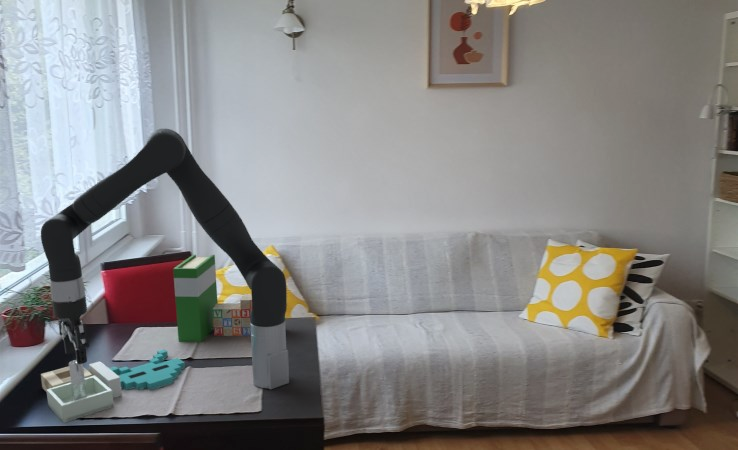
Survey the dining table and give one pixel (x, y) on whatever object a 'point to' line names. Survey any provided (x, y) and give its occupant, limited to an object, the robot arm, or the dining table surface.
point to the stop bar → (106, 377)
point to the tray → (94, 402)
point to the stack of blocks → (233, 317)
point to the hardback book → (195, 297)
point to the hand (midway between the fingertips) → (76, 358)
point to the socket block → (58, 377)
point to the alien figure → (150, 372)
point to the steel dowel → (77, 380)
